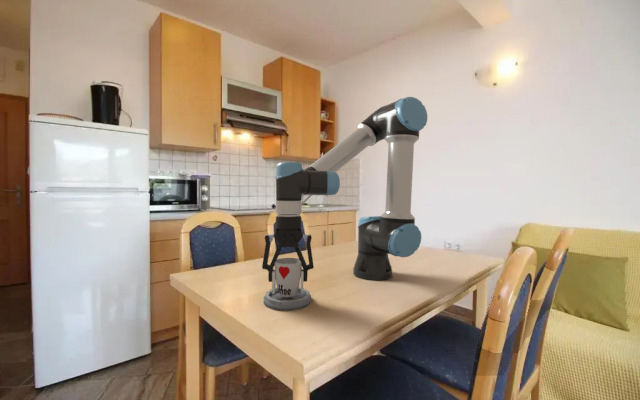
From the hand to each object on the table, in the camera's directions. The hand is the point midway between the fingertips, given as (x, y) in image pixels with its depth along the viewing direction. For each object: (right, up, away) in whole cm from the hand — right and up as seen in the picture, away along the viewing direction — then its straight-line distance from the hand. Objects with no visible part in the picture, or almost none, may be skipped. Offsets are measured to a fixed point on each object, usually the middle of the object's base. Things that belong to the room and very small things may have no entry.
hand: (287, 292), depth 87 cm
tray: (0, -3, 0) cm, 3 cm away
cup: (0, -1, 0) cm, 1 cm away
